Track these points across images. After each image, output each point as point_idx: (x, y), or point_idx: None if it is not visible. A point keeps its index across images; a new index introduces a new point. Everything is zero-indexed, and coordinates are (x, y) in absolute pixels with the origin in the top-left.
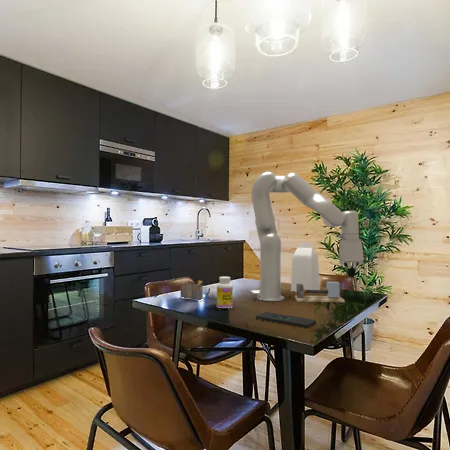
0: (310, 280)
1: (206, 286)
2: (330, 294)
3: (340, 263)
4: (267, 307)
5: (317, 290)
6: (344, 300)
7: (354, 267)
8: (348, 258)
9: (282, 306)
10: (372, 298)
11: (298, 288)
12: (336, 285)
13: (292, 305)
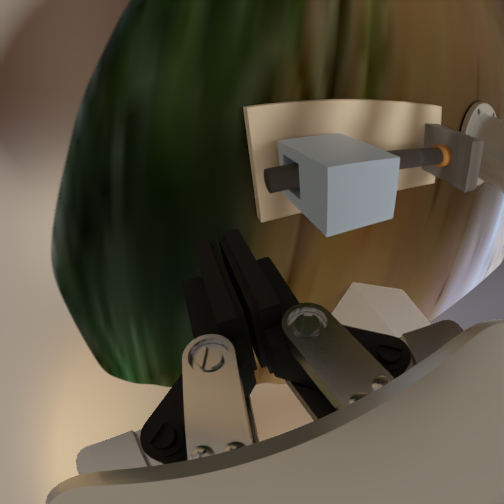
0: (388, 321)
1: (500, 260)
2: (337, 137)
3: (448, 328)
4: (481, 30)
5: (404, 156)
6: (246, 107)
7: (209, 353)
8: (472, 434)
9: (463, 32)
10: (87, 280)
11: (471, 136)
12: (337, 157)
13: (446, 40)
